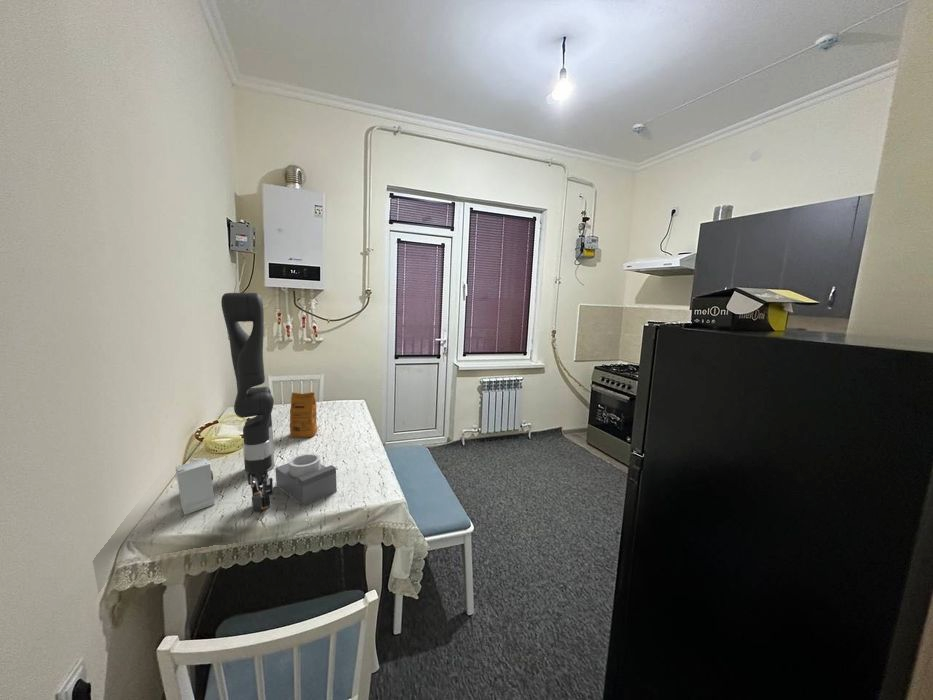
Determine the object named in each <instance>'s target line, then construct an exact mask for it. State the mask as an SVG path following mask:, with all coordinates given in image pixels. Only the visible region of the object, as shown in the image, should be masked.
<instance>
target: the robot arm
mask: <svg viewBox="0 0 933 700" xmlns="http://www.w3.org/2000/svg"><path fill="white" fill-rule="evenodd" d="M220 303H221V310H222V314H223V318H224V322H225V326H226V329H227V334H228V335H227V336H228V340H229V347H230V354H231V360H232V366H233V371H234V376H235V380H236V389H237V394H236V397H235V401H234V405H233V410H234V414H235V416H237V417H239V418H240V419H241V418H243V419H245V418H249V419H247V420H246V421H245V422H244V425H243V428H242V437H243V459H244V460H243V461H244V462H243V463H244V464H243V465H244V471H245V472H246V475H247V482H248V483H247V484H248V485H249V486H250V489H251V495H252V496H253V495H254V493H256V492H259V491H260V495H261V506H262V507H263V508H264V507H267V506H269V505H270V506H271V500H270V501H269V496H270V497H271V496H272V495H273V493H274V492H273V490H274V487H273V482H274V481H273V477H269V476H270V475H269V473H268V471H271V470H272V469H273V468H274V467H275V450H274V437H273V436H274V434H273V420H272V412H273V408H274V405H275V404H274V403H275V400H274V398H273V395H272V391H271V389H270V388H269V387H268V386H261V385H263V384H264V383H265V381H266V378H265V376H266V375H265V366H264V364H265V363H264V335H265V334H264V332H265V331H264V326H265V325H264V324H265V323H264V318H265V317H264V313H265V311H264V304H263V303H264V302H263V300H262V296H261V295H260V293H258V292H226V293H224V294H223V295H222V296H221V301H220ZM241 322H245V323H246V322H252V328H251V332H250V335H249V334H248V333H246V331H245V330H244V329H243V328H242V327H241V325H240V323H241ZM259 386H260V387H259ZM250 417H251V418H250ZM252 496H251V497H252Z"/></svg>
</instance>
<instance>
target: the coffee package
mask: <svg viewBox="0 0 933 700" xmlns="http://www.w3.org/2000/svg"><path fill="white" fill-rule="evenodd" d="M290 398H291V399H290V409H289V433H290V438H293V439H294V438H301V439H307V438H313V437H314V436H315V435H316V434H317V432H318V424H317V414H318V413H317V403H316V397H315V391H312V392H311V391H310V392H305V393H301V392H299V393H298V392H295V391H292V393H291V397H290Z"/></svg>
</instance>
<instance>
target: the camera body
mask: <svg viewBox="0 0 933 700" xmlns="http://www.w3.org/2000/svg"><path fill="white" fill-rule="evenodd" d="M275 482H276V483H275V484H276V486H277V487H278V488H279V489H280V490H281V491H283V492H284V493H286V494H287V495H288V496H289V497H291V498H292V500H295V501H296V502H298V504H300V505H301V506H302V507H305V506H309V505H310V504H312V503H314V502H316V501H319V500H320V499H323V498H325V497H327V496H329V495H331V494H334V493H336V492H337V467H335V466H334V465H332V464H330V465H329V466H325V465H324V464H322V463H321V456H320V455H319V454H317V453H303V454H299V455H296V456H294V457H292V458H291V459H290V460H289V461H288V462H287V463H284V464H282V465H280V466H277V467H275Z"/></svg>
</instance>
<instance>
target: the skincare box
mask: <svg viewBox="0 0 933 700" xmlns="http://www.w3.org/2000/svg"><path fill="white" fill-rule="evenodd" d="M175 471H176V479H177V484H178V492H179V498H180V505H181V509H182V511H183V514H184V516H186V515H189V514H192V513H195V512H197V511H199V510H202V509H206V508H208V507H211V506H214V505H216V502H215V496H214V495H215V494H214V487H213V481H212V477H211V471H212V470H211V463H210V461H208V459H207V458H206V457H204V458H202V459H198V460H194V461H190V462H187V463H184V464H180V465H176V466H175Z"/></svg>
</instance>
